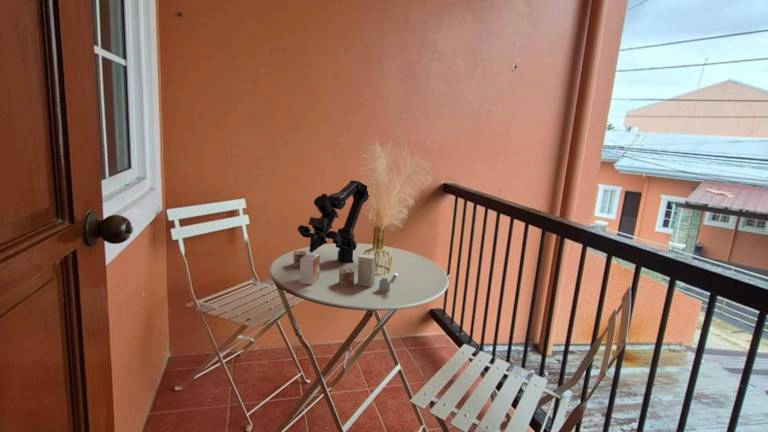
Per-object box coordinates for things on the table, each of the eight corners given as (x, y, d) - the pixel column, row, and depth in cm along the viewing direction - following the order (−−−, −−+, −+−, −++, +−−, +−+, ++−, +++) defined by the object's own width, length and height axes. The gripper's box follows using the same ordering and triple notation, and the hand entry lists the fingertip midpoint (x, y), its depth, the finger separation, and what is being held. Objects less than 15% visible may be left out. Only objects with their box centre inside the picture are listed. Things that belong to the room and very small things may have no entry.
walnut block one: (350, 281, 164) (351, 267, 163) (353, 286, 160) (354, 272, 158) (338, 282, 163) (339, 268, 161) (341, 287, 158) (342, 272, 157)
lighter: (378, 290, 158) (380, 271, 156) (379, 288, 159) (381, 270, 157) (396, 293, 156) (397, 274, 154) (397, 291, 158) (398, 272, 156)
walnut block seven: (304, 263, 181) (305, 250, 180) (306, 267, 177) (306, 254, 175) (293, 263, 180) (293, 250, 178) (294, 267, 175) (295, 254, 174)
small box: (312, 285, 158) (313, 260, 155) (299, 283, 159) (299, 258, 156) (319, 278, 166) (320, 254, 163) (307, 276, 167) (307, 252, 164)
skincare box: (374, 283, 164) (376, 255, 161) (371, 287, 160) (373, 259, 157) (360, 280, 166) (362, 253, 163) (356, 284, 162) (358, 256, 159)
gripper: (300, 206, 164) (283, 237, 156) (339, 212, 157) (323, 246, 149) (310, 220, 173) (294, 251, 165) (347, 228, 166) (333, 260, 158)
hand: (310, 251), depth 159 cm, fingers closed
